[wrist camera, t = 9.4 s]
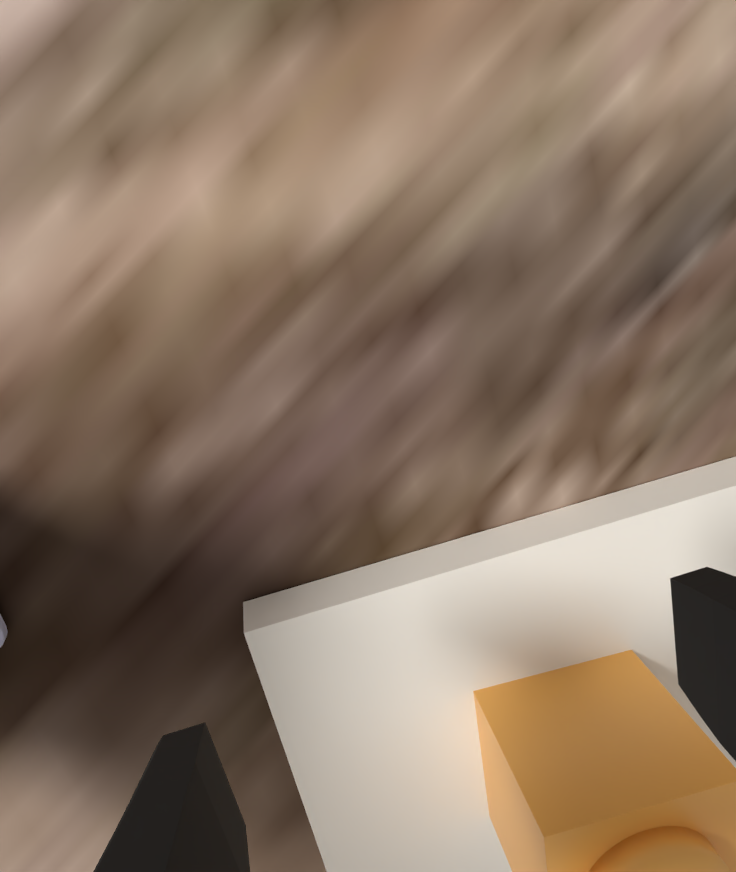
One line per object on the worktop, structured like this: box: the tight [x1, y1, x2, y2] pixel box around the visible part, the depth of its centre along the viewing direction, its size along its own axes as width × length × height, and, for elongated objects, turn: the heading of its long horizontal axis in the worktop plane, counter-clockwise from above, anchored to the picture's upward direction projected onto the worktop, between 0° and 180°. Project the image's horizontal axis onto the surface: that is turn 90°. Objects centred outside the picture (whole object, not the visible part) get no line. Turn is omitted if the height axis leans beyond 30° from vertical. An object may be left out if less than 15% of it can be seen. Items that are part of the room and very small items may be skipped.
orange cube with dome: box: [473, 650, 736, 872], centre depth 19 cm, size 5×5×6 cm
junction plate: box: [243, 457, 736, 872], centre depth 21 cm, size 16×14×5 cm
